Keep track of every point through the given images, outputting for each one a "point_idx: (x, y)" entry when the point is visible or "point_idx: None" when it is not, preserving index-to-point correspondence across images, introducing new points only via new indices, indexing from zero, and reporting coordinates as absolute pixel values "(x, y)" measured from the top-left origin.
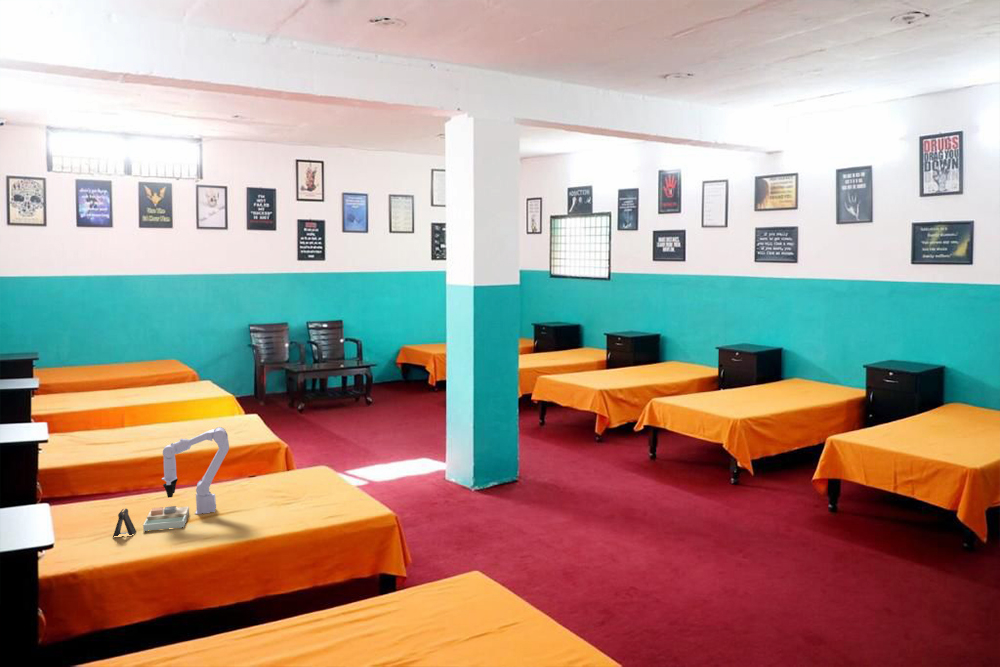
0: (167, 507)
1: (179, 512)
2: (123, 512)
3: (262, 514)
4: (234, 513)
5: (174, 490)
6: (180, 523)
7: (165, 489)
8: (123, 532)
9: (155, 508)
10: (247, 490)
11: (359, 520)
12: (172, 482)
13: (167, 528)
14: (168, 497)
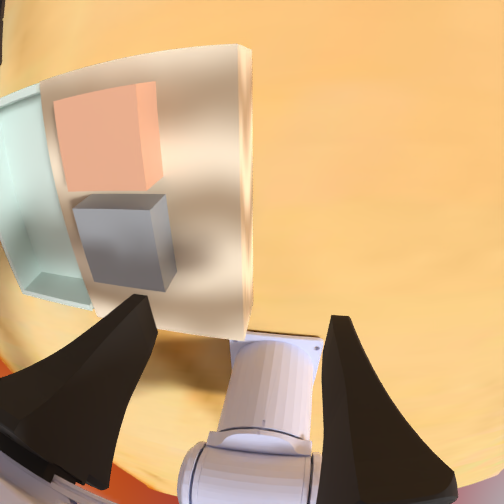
0: (131, 229)
1: (115, 288)
2: None
3: (180, 446)
4: (206, 419)
5: (322, 385)
6: (24, 275)
7: (40, 361)
8: (1, 7)
9: (117, 119)
10: (470, 434)
11: (133, 476)
12: (328, 490)
13: (16, 213)
14: (133, 298)
